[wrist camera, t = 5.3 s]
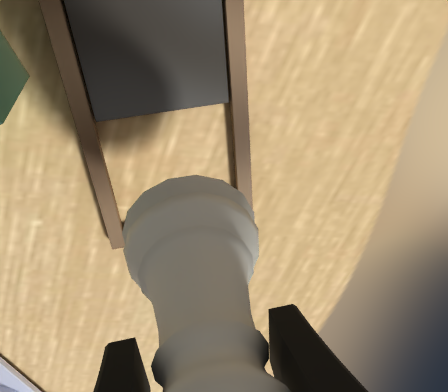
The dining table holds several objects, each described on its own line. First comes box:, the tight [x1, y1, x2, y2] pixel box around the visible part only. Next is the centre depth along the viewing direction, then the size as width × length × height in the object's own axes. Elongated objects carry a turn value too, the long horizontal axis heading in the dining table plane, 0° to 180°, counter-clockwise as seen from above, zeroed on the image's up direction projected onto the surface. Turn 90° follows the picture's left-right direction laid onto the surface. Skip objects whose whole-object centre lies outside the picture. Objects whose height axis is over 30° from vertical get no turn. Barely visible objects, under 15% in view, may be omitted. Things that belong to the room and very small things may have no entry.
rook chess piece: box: [122, 175, 291, 392], centre depth 11 cm, size 4×4×8 cm
